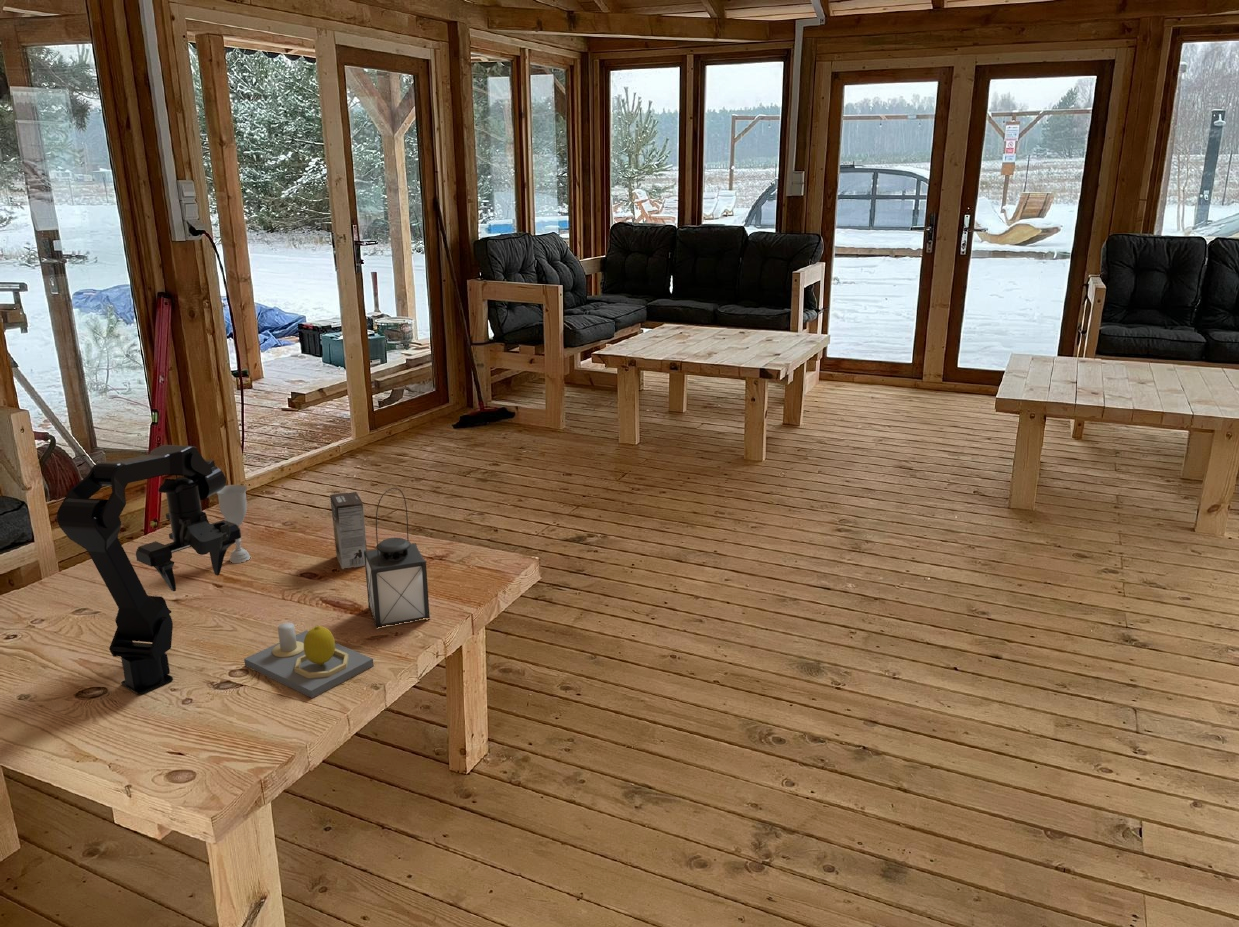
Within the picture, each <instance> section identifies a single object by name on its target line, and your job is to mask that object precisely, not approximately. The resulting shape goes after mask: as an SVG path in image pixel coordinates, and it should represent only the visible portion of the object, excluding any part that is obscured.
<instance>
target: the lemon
mask: <svg viewBox="0 0 1239 927" xmlns="http://www.w3.org/2000/svg"><path fill="white" fill-rule="evenodd" d="M307 631H308V633H307V634H306V636H305V639H304V652H305V655H306V657H307V658H308V660H309V661H311V662H312V663H315V664H319V665H323V664H324V663H325V662H327V661H329V660H330V659H331V658H332V656H333V654H334V651H335V643H336V640H335V637H334V634H332V632H331V630H329V629H328V628H326V627H324V626H320V625H316V626H315V627H312V628H311V629H309V630H307Z"/></svg>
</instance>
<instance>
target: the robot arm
mask: <svg viewBox="0 0 1239 927" xmlns="http://www.w3.org/2000/svg"><path fill="white" fill-rule="evenodd" d="M162 476H177V477H176V478H165V479H164V481H163V483H162V484H161V485H160V486H159V488H158V490H157V491H158V493H162V494H163V493H164V494H165V495H166V502H167V509H168V513H165V518H166V520H169V522H170V527H171V532H169V533H168V537H169V539H170V540H172V542H169V543H166V544H164V543H161V542H159V541H153V542H150V543H146V544H142V545H139V546H138V547H137V549H136V551H135V556H136V561H137V562H138V563H139V562H140V563H141V564H144V565H147V566H148V567H151V568H152V567H153V568H154V569H155V570H156V571H157V572H158V573H159V575H160V576H161V578H162V580H164V582H165V583H166V584H167V586H168V588H169V590H171V591H172V592H176V591H177V584H176V579H175V574H174V570H173V567H174V565H175V561H173V560H172V558H173V554H174V553H177V552H179V551H183V550H185V549H189V548H192V549H193V550H194V551H195V553H197V555H200V556H202V555H204V556H205V555H207V554H209V557H210V561H211V566H212V567H211V568H212V570H213V574H214V575H215V576H217V577H218V576H220V574H221V572H222V570H221V569H222V566H223V562H224V559H225V556H226V552H227V550H228V549H229V548H230V547H231V546H232V545H234V544H236V543H235V542H236V539H239V538H240V539H241V538H242V532H241V528H240V525H239V526H238V525H236V524H234V523H231V522H228V521H226V520H225V519H222V520H218V521H215V522H213V523H210V521H209V519H208V516H207V513H206V512H204V511H203V510H202V502H201V501H203V500H206V499H208V498H209V497H211V496H213V495H214V494H217V492H218V491H220V490H222V489H223V488H224V487H225V486H226V485H227V477H226V475H225V474H224V472H223V471H222V469H220V468H219V467H218V466H217V465H215V461H214V460H208V459H205V458H204V457H203V456H202V454H201V453H199V451H198V448H197V446H195V445H193V446H192V445H178V444H177V445H175V444H173V445H172V444H162V445H160V446H157V447H155V448H153V449H152V450H151V451H150V452H149V454H146V455H140V456H135V457H130V458H124V459H120V460H118V459H117V460H114V461H108V462H105V461H102V462H99V463H96V464H94V465H93V466H92V467H91V469H90V471H89V473H88V474H87V476H85V477H84V478H82V479H81V480H80V481H79V482H78V483H76V484H75V485H74V486H72V487H71V488H70V489H69V490H68V492H67V493H66V495H65V497H64V499H63V501H62V502H61V504H60V506H59V508H58V510H57V512H56V513H57V514H56V522H57V524H58V527H59V528H60V529H61V531H62V532H63V533H64V534H65V535H66V537H67V538H68V539H69V540H70V541H72V542H74V544H77V545H78V546H80V547H82V548H83V549H85V550H86V552H87V553H88V555H89V557H90V559H91V561H92V562H93V564H94V566H95V568H96V569H97V572H98V573H99V575H100V577H101V578H102V580H103V582H104V584H105V586H106V588H107V589H108V591H109V593H110V595H111V597H112V598H113V600H114V602H115V604H116V606H117V607H118V608H117V609H118V610H117V613H116V617H115V625H116V627H117V628H116V630H115V631H114V632H115V633H114V635H113V638H112V641H111V643H110V645H109V648H108V649H109V652H110V654H111V655H112V658H113V657H115V658H117V657H120V658H121V665H122V669H123V670H122V671H123V674H124V675H123V676H124V680H122V681H121V686H123V687H125V688H126V689H128V690H130V691H132V692H133V693H135V694H137V695H139V696H140V695H143V694H146V693H148V692H150V691H151V690H154V689H157V688H159V687H160V686H161V687H162V686H163V685H165V684H168V683H170V682H172V681H174V677H173V676H172V675H170V673H171V671H170V664H169V658H168V653H166V652H168V651H169V650H171V649H172V640H173V630H174V629H173V626H174V623H173V618H172V616H171V614H172V610H171V609H169V607H168V606H167V602H166V600H165V598H164V597H163V596H157V595H148V594H147V591H146V590H145V588H144V585H143V584H142V583H141V580H140V578H139V576H138V574H137V572H136V570H135V567H134V566H133V565H132V563H131V560H130V559H129V556H128V554H127V553H126V551H125V548H124V547H123V545H122V543H121V541H120V539H119V534H120V529H121V526H122V521H121V518H120V517H121V515H122V512H123V511H124V509H125V507H126V504H127V500H126V499H127V498H126V491H125V489H126V488H127V486H128V484H132V483H136V482H141V481H145V480H149V479H153V478H159V477H162ZM103 486H104V487H111V494H110V496H109V497H108V499H104V498H91V497H93V496H94V495H96V493H98V492H100V490H101V489H102V488H103Z"/></svg>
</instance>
